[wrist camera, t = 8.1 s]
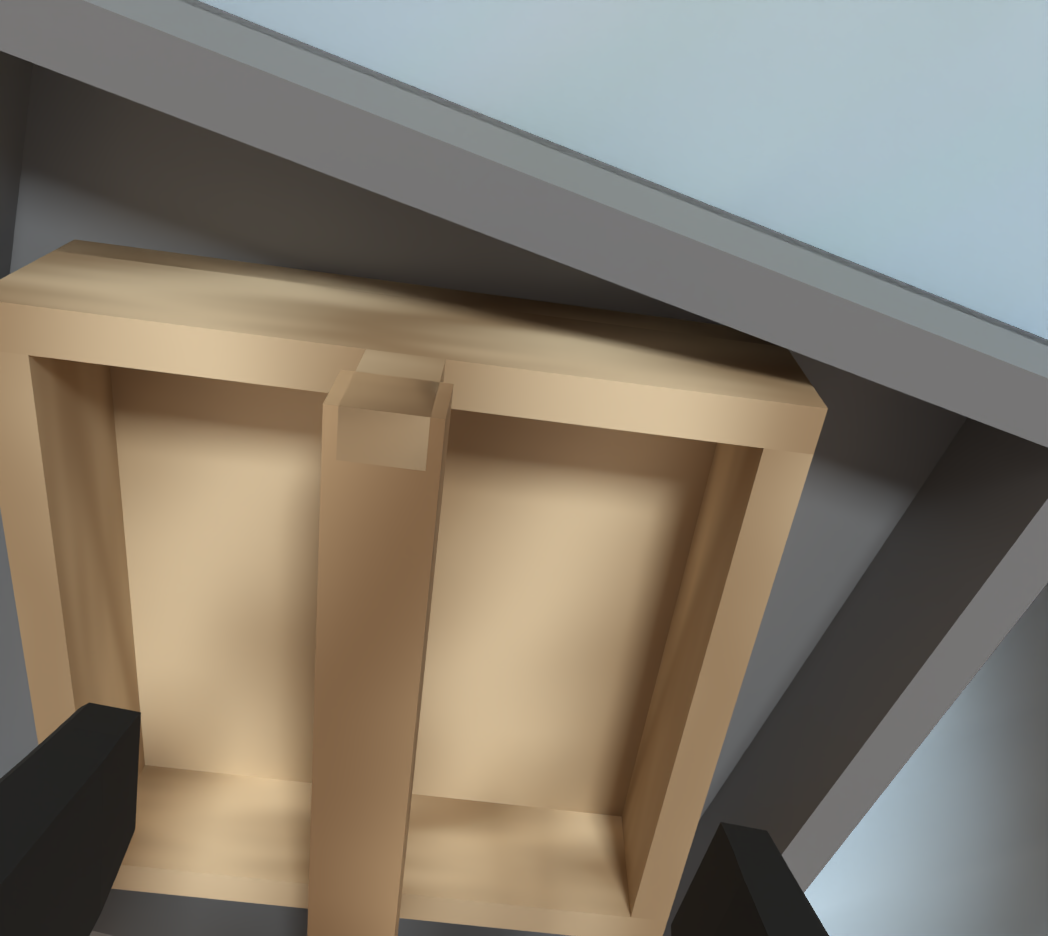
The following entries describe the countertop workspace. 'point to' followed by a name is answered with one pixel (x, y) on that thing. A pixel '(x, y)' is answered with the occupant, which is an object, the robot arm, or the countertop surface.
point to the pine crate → (393, 577)
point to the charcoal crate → (581, 280)
